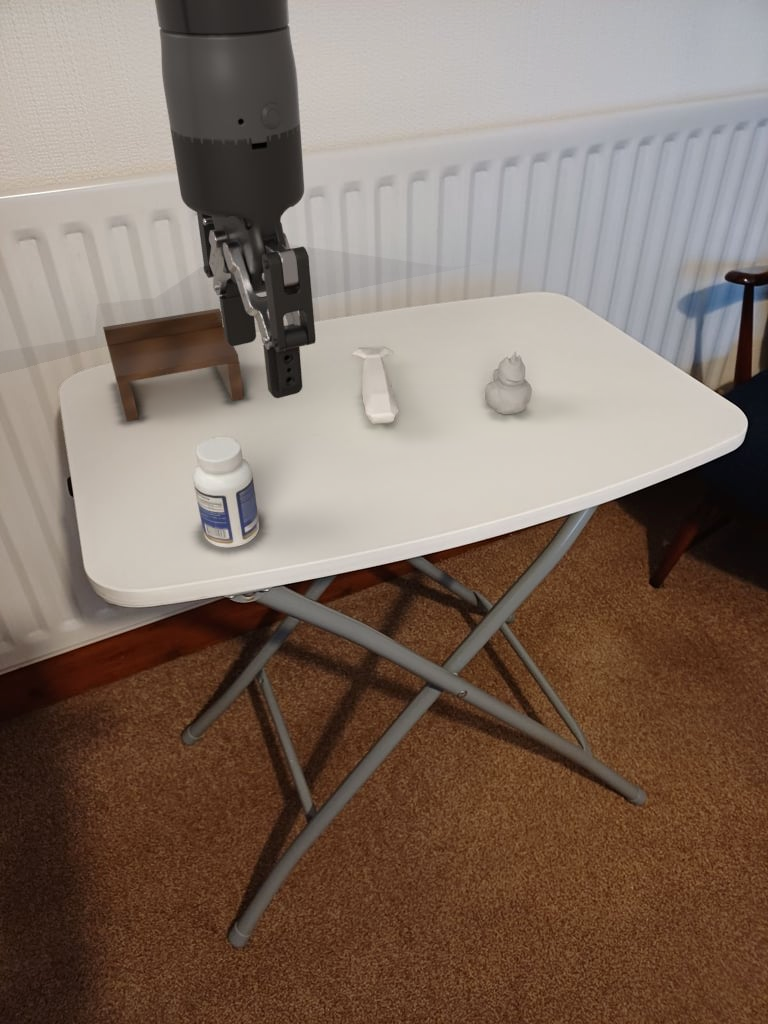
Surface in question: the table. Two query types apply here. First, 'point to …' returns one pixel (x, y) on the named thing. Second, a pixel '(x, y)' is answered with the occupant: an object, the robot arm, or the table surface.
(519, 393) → the rubber duck
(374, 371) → the white flared handle
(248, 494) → the pill bottle
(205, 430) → the table surface
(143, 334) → the shelf
